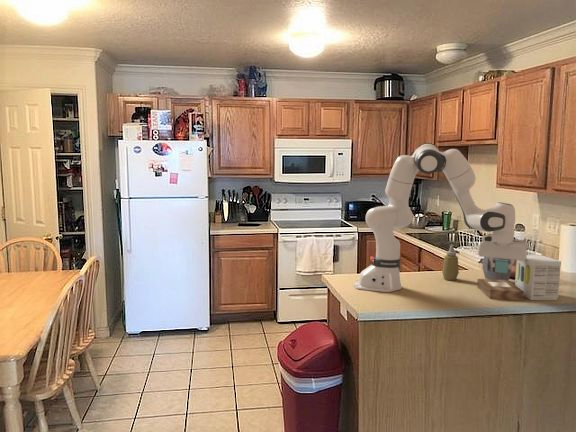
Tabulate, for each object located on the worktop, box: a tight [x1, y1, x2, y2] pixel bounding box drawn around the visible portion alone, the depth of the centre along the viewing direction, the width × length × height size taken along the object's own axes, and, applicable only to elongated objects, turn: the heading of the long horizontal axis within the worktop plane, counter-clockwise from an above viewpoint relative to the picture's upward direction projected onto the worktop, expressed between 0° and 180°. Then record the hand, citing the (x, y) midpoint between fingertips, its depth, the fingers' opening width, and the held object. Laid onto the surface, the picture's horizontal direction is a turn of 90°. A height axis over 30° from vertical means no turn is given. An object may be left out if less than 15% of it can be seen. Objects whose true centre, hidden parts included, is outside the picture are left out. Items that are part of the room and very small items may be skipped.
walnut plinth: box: [476, 278, 524, 301], centre depth 217 cm, size 14×20×4 cm
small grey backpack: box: [482, 257, 512, 281], centre depth 238 cm, size 15×8×20 cm, turn 27°
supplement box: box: [514, 255, 562, 301], centre depth 213 cm, size 13×13×18 cm
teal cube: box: [495, 259, 508, 273], centre depth 216 cm, size 5×5×5 cm
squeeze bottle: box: [441, 244, 460, 281], centre depth 241 cm, size 8×8×18 cm
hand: (501, 268), depth 216 cm, fingers closed on teal cube, 5 cm apart
